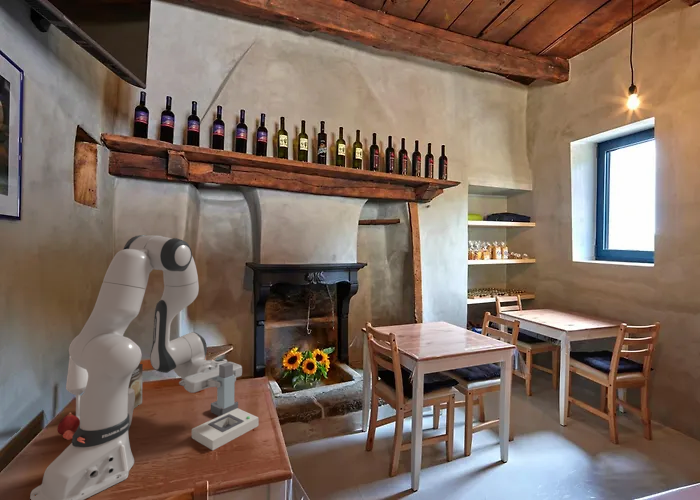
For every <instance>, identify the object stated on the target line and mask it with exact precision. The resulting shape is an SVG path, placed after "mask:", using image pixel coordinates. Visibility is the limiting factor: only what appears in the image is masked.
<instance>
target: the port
mask: <svg viewBox="0 0 700 500" xmlns="http://www.w3.org/2000/svg"><path fill="white" fill-rule="evenodd" d="M259 422H260V421H259V417H258V416H256V415H254V414H252V413H249V412H247V411H244V409H243V410H242V409H240V408H239V407H238V408H237V409H234V410H232V411H230V412H228V413H226V414H223V415H221V416H217V417H214V418H213V419H210V420H208V421H206V422H204V423H202V424H200V425H197V426H195V427H193V428H191V439H193V440H194V441H196V442H198V443H199V444H201V445H202V446H204V447H206V448H208V449H209V450H211V451H215V450H216V449H218V448H219V447H222V446H224V445H226V444H228V443H229V442H231V441H233V440H235V439H237V438H238V437H241V436H242V435H245V434H246V433H248V432H250V431H251V430H253V429H255V428H257V427H259V425H260V424H259Z"/></svg>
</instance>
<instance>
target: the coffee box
mask: <svg viewBox="0 0 700 500" xmlns="http://www.w3.org/2000/svg"><path fill="white" fill-rule="evenodd" d="M143 365H144V364H143V363H139V365H138V367H137V368H136V369H135V370H134V371H133V373H132V376H131V379H130V383H129V387H128V388H132V389H134V392H135V402H134V408H133V410H134V409H135V408H137V407H138V405H139V406H140V405H142V404H143V367H144V366H143Z"/></svg>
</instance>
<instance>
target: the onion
mask: <svg viewBox="0 0 700 500" xmlns="http://www.w3.org/2000/svg"><path fill="white" fill-rule="evenodd" d="M79 425H80V420H79V418H78V417H76V415H74V414H72V412H68V414H66V415H65V416H64V417H63V418H62V419H61V420H60V421H59V423H58V425H57V433H58V434H59V435H61V436H63V434H64V433H65V432H66V431H67V430H71V431H72V432H74V433H75V432H76V430H77V428H78V426H79Z"/></svg>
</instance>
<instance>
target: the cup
mask: <svg viewBox="0 0 700 500" xmlns="http://www.w3.org/2000/svg"><path fill="white" fill-rule="evenodd" d="M134 402H135V392H134V389H132V388H128V414H129V421H130V426H131V425H132V420H133V413H134V409H135V408H134ZM133 408H134V409H133Z"/></svg>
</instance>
